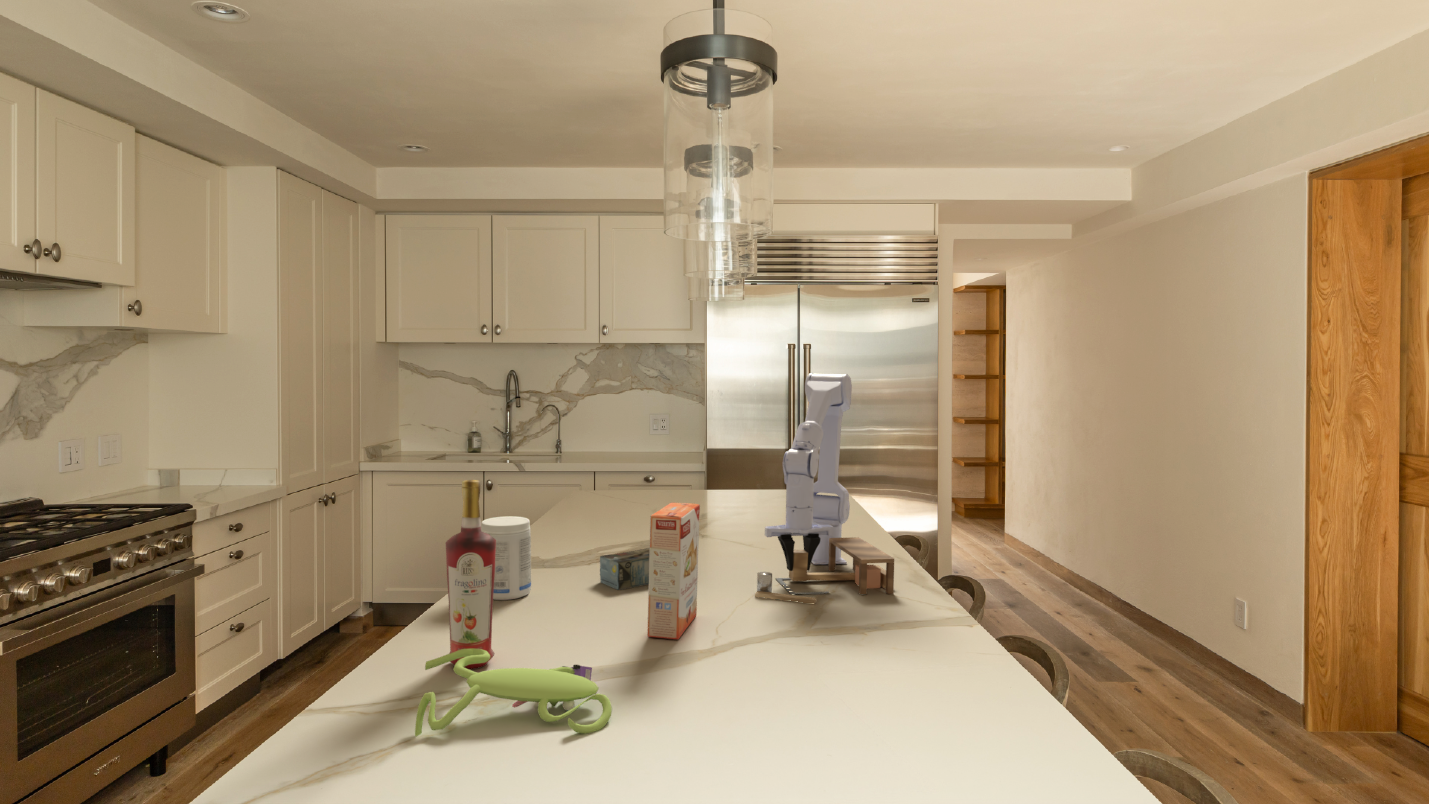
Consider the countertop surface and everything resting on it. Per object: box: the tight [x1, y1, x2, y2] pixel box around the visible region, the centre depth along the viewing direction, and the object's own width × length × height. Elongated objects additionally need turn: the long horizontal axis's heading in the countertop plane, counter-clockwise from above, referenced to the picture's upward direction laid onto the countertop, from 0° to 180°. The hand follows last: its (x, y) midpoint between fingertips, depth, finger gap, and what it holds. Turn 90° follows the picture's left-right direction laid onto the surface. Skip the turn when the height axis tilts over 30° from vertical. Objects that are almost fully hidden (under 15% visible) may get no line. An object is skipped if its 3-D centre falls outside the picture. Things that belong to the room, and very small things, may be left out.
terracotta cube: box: [854, 564, 881, 589], centre depth 171 cm, size 4×4×4 cm
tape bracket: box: [775, 577, 830, 595], centre depth 170 cm, size 12×8×1 cm, turn 11°
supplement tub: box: [481, 515, 532, 601], centre depth 161 cm, size 10×10×15 cm
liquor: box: [445, 479, 496, 671], centre depth 123 cm, size 7×7×28 cm
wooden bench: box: [827, 536, 895, 595], centre depth 175 cm, size 20×7×7 cm, turn 11°
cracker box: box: [647, 502, 701, 640], centre depth 143 cm, size 14×6×21 cm, turn 168°
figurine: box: [414, 648, 613, 737], centre depth 110 cm, size 18×27×6 cm
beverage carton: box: [599, 547, 650, 591], centre depth 174 cm, size 8×19×7 cm, turn 128°
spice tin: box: [756, 571, 773, 593], centre depth 165 cm, size 3×3×4 cm
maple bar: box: [754, 590, 817, 604], centre depth 161 cm, size 2×12×1 cm, turn 69°
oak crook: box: [788, 549, 886, 589], centre depth 172 cm, size 20×9×6 cm, turn 101°
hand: (798, 569), depth 173 cm, fingers closed on oak crook, 3 cm apart
